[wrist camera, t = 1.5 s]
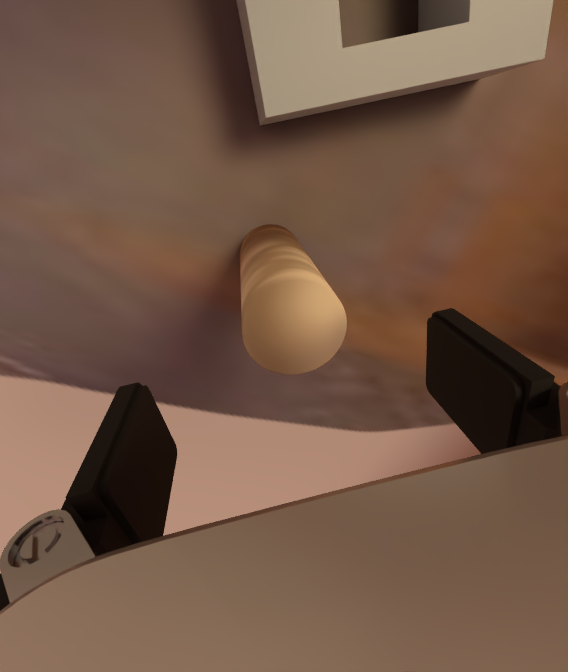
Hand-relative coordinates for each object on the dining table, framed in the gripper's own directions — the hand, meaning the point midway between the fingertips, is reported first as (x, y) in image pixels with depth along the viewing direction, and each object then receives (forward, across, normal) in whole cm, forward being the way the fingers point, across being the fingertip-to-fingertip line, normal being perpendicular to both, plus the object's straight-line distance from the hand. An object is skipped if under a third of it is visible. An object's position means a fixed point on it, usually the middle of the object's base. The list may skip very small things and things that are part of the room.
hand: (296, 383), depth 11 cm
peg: (+15, -1, 0) cm, 15 cm away
